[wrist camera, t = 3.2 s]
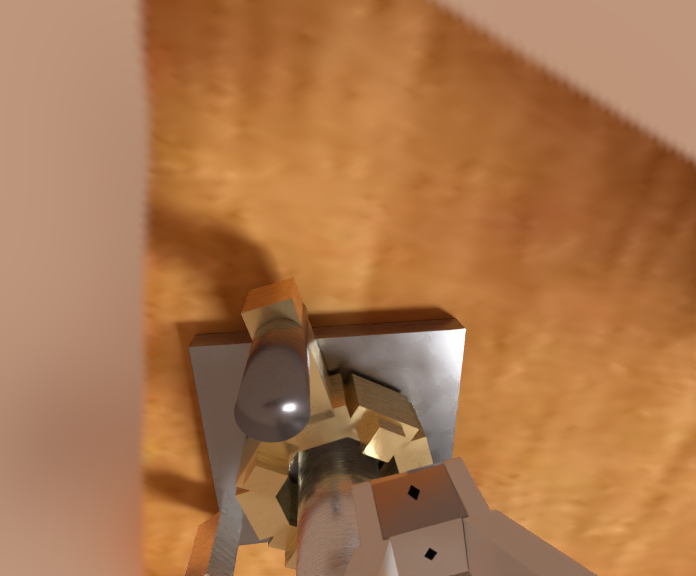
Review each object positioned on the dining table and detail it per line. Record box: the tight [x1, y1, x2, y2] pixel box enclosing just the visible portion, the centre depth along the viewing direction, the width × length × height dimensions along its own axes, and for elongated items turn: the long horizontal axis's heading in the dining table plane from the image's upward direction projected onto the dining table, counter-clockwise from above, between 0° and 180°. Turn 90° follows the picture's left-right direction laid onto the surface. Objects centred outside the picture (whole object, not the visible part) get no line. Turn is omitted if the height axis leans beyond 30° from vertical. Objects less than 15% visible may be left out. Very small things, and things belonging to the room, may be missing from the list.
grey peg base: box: [185, 319, 466, 576], centre depth 21 cm, size 18×16×10 cm
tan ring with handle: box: [234, 277, 433, 570], centre depth 19 cm, size 18×11×8 cm, turn 16°
